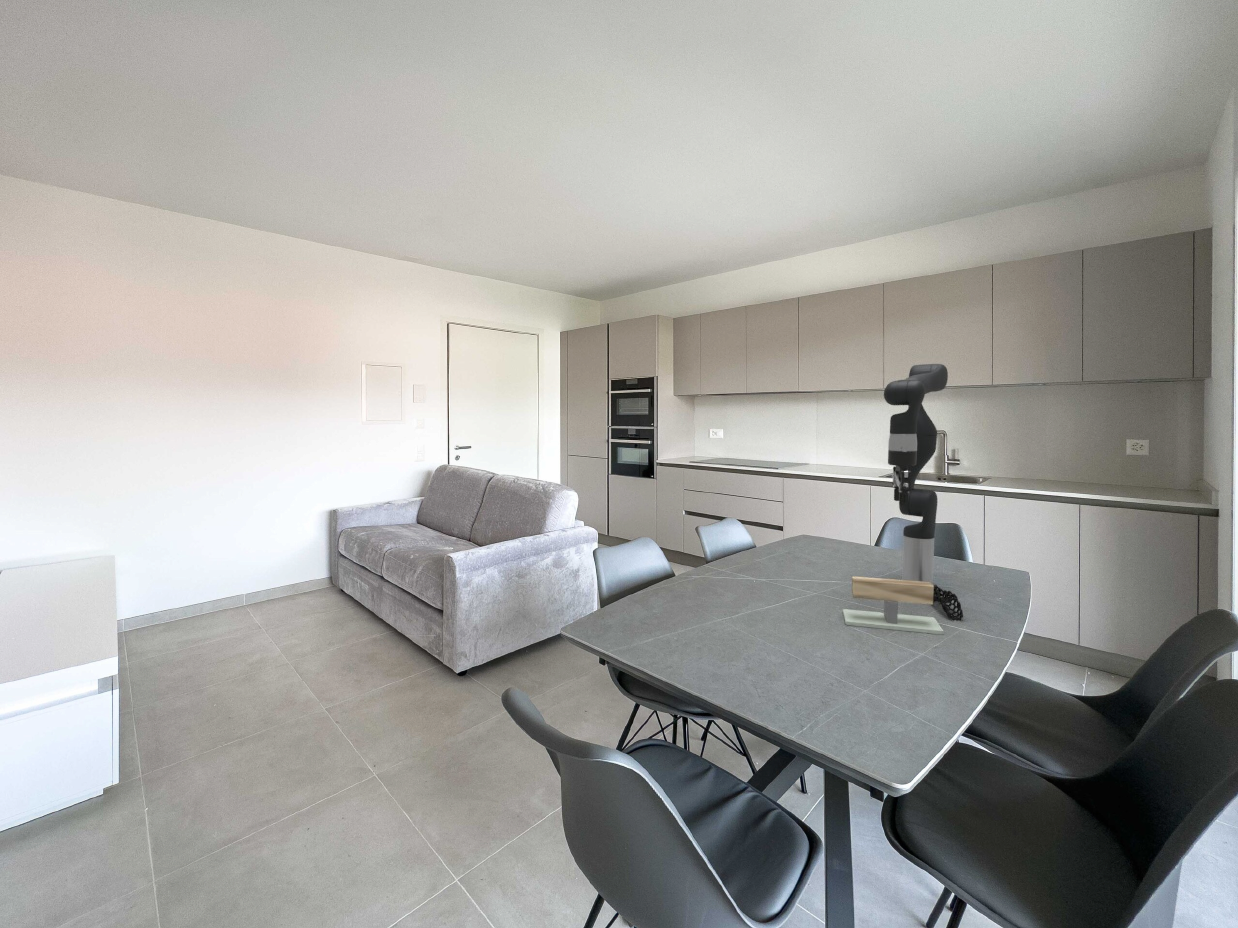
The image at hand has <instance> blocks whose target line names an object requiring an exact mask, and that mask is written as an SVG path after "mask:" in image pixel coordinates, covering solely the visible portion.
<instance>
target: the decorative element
mask: <svg viewBox="0 0 1238 928" xmlns="http://www.w3.org/2000/svg"><path fill="white" fill-rule="evenodd" d="M933 586H934V592H933V602H935V603H939V604H940V607H941V609H942V610H943V611H944V613H945V614H946V616H947V617H948V618H949V619H950V620H951V621H954V622H955V621H957V622H958V621H962V619H963V618H964V613H963V609H962V604H961V602H960V601H959V599H958V596H957V595H956V594H955V593H953V592H952V591H951V590H946V589H945V590H943V589H942V588H941V587H939V586H938V585H937V584H933ZM951 606H953V607H952V608H951ZM951 611H952V612H951Z"/></svg>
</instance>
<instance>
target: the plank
mask: <svg viewBox="0 0 1238 928" xmlns="http://www.w3.org/2000/svg"><path fill="white" fill-rule="evenodd" d="M933 592H934V584H931V583H930V582H921V581H907V580H902V579H893V578H879V577H877V578H876V577H865V576H852V577H851V595H852V598H853V599H863V600H874V601H884V600H886V601H897V602H898V603H899V602H900V603H911V604H923V605H924V604H925V605H932V606H933V605H934V601H933Z"/></svg>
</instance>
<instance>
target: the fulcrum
mask: <svg viewBox="0 0 1238 928" xmlns="http://www.w3.org/2000/svg"><path fill="white" fill-rule="evenodd" d="M883 602H884V603H883V612H879V611H867V610H858V609H856V610H855V609H846V608H842V613H843V618H844V623H845V625H846V626H853V627H863V628H875V629H884V630H894V631H903V632H912V633H913V632H914V633H921V634H922V633H923V634H933V635H941V636H942V635H944V630H943V628H942V627H941V626H940V623H939V622H938V621H937V620H936V618H935V617H932V616H923V615H913V614H912V615H911V614H900V613H899V611H898V610H899V609H898V608H899V604H898V603H899V602H897V601H886V600H883Z"/></svg>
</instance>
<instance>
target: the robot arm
mask: <svg viewBox="0 0 1238 928" xmlns="http://www.w3.org/2000/svg"><path fill="white" fill-rule="evenodd" d="M948 374H949V373H948V367H946V365H945V364H942V363H928V364H925V363H924V364H914V365H912V366H911V367H910V370H909V373H908V377H906V378H904V379H899V380H898V379H897V380H893V381H891V382H889V383H888V384H887V385H886V386H885V388H884V392H883V399H884V401H885V402H886V403H887V404H889V405H891V406H908V408H907V409H906V411H904V412H899V413H895V414H892V415H891V416H890V420H889V438H888V451H887V464H888V465H890V466H893V467H892V483H891V484H892V486H893V487H892V488H893V501H895V502H898V508H899V512H900V513H901V514H902V515H905V516H911V517H912V516H913V517H920V518H922V520H921V521H920V522H919V523H915V524H914V523H913V524H908V525H905V526H904V527H903V532H902V535H903V536H902V563H901V566H902V567H901V580H907V581H921V582H930V583H931V584H932V585H934V584H933V581H934V559H935V558H934V557H935V556H934V554H935V532H936V523H937V513H938V511H937V510H938V495H937V493H936V491H935V490H932V489H923V488H921V489H920V488H915V484H916V480H917V478H918V475H919V474H920V472H921V471H922V469H924V468H925V466H926V465H927V463H929V461H930V460H931V459H932V457H933V456H934V455H935V453H936V450H937V441H938V430H937V428H936V427H937V426H936V425H935V423H934V422H933V421H932V419H931V418H930V416H929V414H928V413H927V411H926V410H925V407H924V405H923V402H924V398H925V396H926V394H929V393H934V392H940V391H943V390H944V389H945V388H946V387H947V385H948V378H949V375H948Z"/></svg>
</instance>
